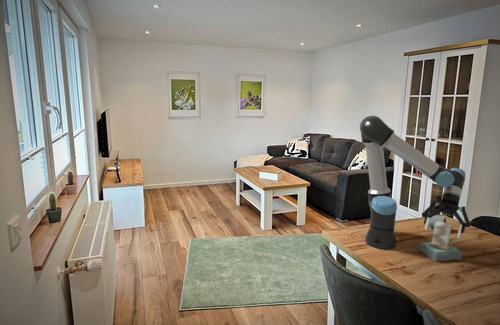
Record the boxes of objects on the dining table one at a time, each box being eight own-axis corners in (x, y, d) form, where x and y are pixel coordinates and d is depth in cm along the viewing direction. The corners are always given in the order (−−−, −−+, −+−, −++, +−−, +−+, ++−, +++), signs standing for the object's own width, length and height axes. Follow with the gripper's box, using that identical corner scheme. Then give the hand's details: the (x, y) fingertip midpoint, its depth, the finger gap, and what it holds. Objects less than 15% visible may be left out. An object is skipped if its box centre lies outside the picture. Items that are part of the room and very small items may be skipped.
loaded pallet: (428, 246, 156) (431, 224, 154) (432, 241, 162) (435, 219, 160) (448, 251, 151) (451, 228, 149) (451, 246, 157) (454, 223, 155)
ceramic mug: (430, 224, 195) (431, 212, 193) (445, 228, 190) (447, 215, 188) (425, 230, 187) (426, 217, 186) (441, 234, 182) (443, 221, 180)
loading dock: (435, 261, 150) (436, 253, 150) (417, 249, 162) (418, 242, 161) (461, 259, 153) (462, 251, 152) (442, 247, 165) (443, 240, 164)
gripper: (481, 205, 157) (472, 245, 149) (424, 195, 173) (413, 230, 164) (481, 197, 152) (473, 238, 144) (422, 187, 168) (411, 223, 159)
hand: (441, 234), depth 154 cm, fingers open, 13 cm apart
